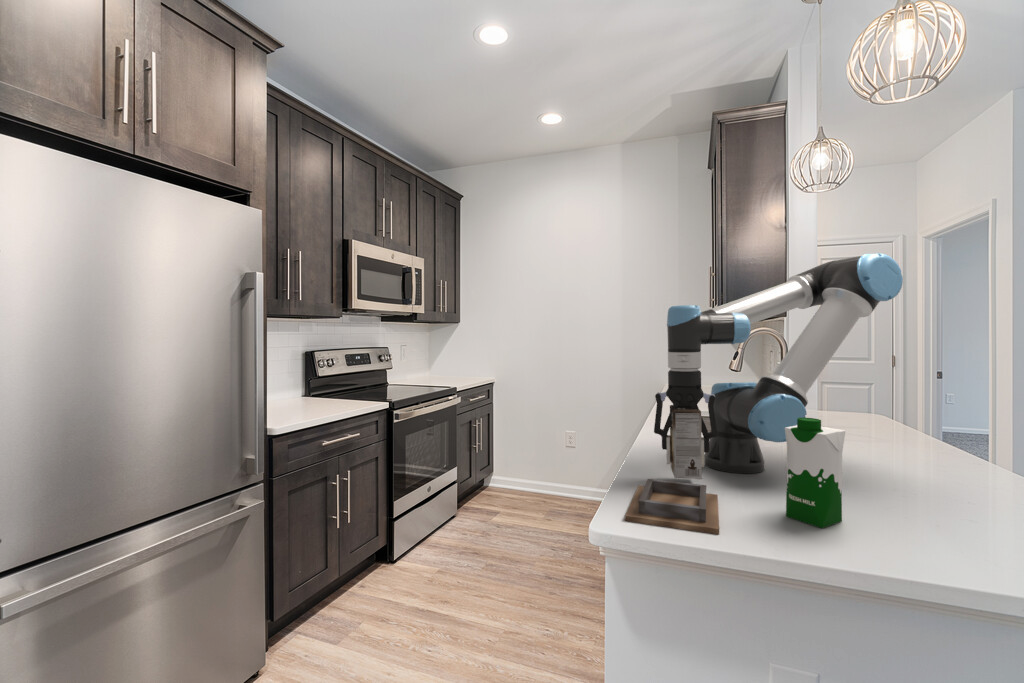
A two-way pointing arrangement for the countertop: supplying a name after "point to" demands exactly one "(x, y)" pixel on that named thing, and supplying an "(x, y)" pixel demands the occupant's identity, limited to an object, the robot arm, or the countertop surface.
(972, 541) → the countertop surface
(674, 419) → the coffee box
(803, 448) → the milk carton
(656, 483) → the pocket board
